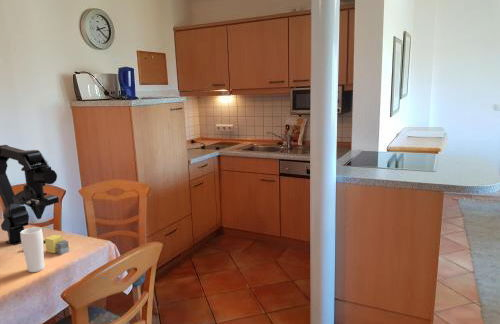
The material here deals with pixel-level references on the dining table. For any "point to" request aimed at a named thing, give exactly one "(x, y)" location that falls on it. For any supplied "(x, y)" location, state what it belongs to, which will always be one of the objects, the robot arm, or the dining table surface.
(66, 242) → the cord fixture
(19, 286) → the dining table surface
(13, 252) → the dining table surface
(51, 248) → the sleeve
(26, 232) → the drinking glass
